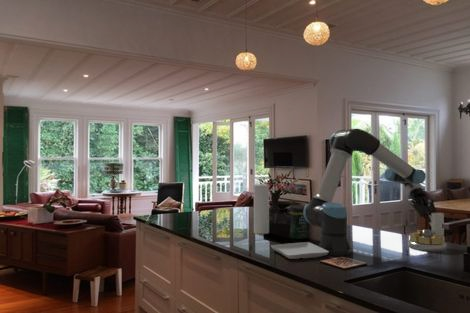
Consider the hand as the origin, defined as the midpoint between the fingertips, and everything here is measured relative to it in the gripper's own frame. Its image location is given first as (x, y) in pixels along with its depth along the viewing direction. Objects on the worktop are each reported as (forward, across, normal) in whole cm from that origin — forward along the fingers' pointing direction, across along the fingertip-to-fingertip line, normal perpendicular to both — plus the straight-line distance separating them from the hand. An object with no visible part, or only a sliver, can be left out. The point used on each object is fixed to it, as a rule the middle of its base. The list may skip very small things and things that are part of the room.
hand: (435, 226), depth 198 cm
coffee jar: (-16, +64, -29) cm, 72 cm away
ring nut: (+6, +6, -3) cm, 9 cm away
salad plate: (+10, +75, -3) cm, 76 cm away
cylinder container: (-29, +82, -43) cm, 97 cm away
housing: (+9, +7, -5) cm, 12 cm away
